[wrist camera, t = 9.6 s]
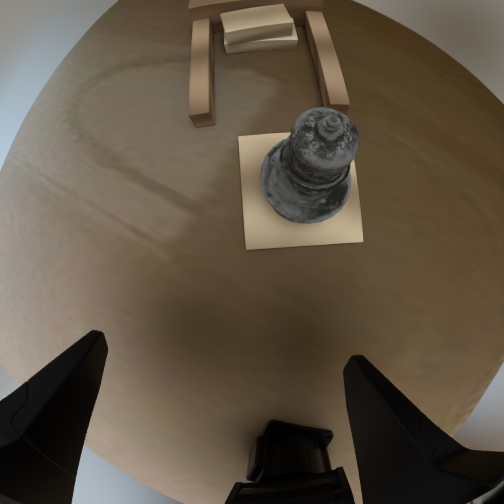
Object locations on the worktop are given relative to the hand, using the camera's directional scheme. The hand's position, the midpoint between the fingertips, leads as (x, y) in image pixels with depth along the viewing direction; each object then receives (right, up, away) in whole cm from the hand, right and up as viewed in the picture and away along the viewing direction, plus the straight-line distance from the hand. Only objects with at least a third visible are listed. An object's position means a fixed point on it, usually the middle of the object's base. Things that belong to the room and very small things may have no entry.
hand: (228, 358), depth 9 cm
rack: (+2, +21, +12) cm, 25 cm away
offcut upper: (+1, +25, +11) cm, 27 cm away
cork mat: (+5, +9, +12) cm, 16 cm away
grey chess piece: (+5, +8, +12) cm, 15 cm away
